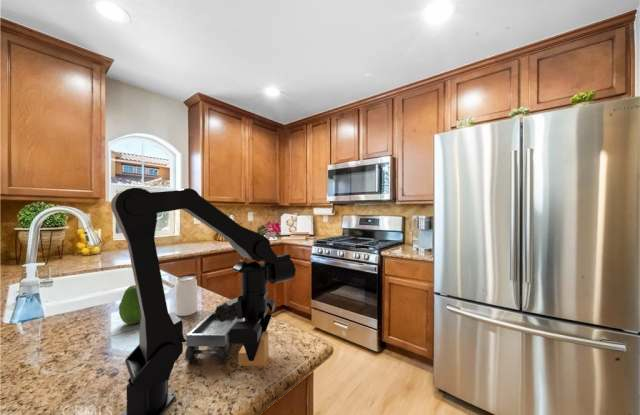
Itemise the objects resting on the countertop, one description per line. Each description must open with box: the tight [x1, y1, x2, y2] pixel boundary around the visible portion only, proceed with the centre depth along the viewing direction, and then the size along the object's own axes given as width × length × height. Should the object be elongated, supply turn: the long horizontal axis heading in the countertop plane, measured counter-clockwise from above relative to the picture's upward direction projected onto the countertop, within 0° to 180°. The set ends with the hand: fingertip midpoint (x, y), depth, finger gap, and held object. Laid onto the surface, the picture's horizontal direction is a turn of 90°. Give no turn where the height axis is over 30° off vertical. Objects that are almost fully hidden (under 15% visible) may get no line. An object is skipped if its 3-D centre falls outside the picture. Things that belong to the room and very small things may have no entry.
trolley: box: [184, 311, 244, 363], centre depth 66 cm, size 14×9×7 cm, turn 179°
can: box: [175, 275, 198, 317], centre depth 89 cm, size 6×6×12 cm
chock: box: [237, 331, 269, 367], centre depth 61 cm, size 6×4×6 cm, turn 88°
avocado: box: [118, 284, 141, 325], centre depth 81 cm, size 8×8×12 cm
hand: (254, 354), depth 61 cm, fingers open, 5 cm apart
